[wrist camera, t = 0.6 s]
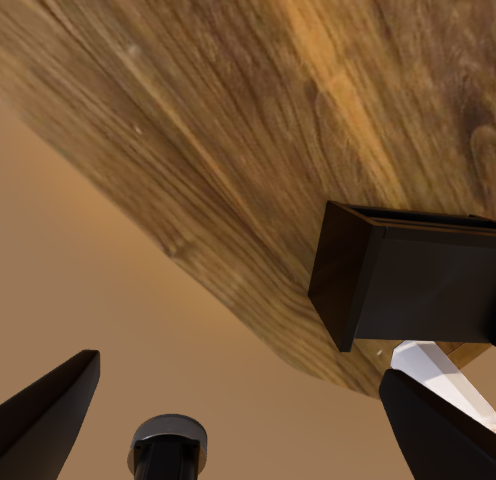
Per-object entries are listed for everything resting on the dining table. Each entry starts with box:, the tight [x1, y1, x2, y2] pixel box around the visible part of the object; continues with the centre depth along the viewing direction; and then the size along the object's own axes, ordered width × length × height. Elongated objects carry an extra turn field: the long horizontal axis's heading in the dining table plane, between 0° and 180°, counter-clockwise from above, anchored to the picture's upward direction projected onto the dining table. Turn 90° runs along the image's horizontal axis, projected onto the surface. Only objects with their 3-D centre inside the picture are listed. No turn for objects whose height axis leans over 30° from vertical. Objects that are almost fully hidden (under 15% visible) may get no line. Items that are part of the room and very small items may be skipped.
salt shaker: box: [390, 340, 496, 433], centre depth 24 cm, size 5×5×11 cm
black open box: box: [308, 200, 496, 352], centre depth 22 cm, size 9×14×8 cm, turn 83°
